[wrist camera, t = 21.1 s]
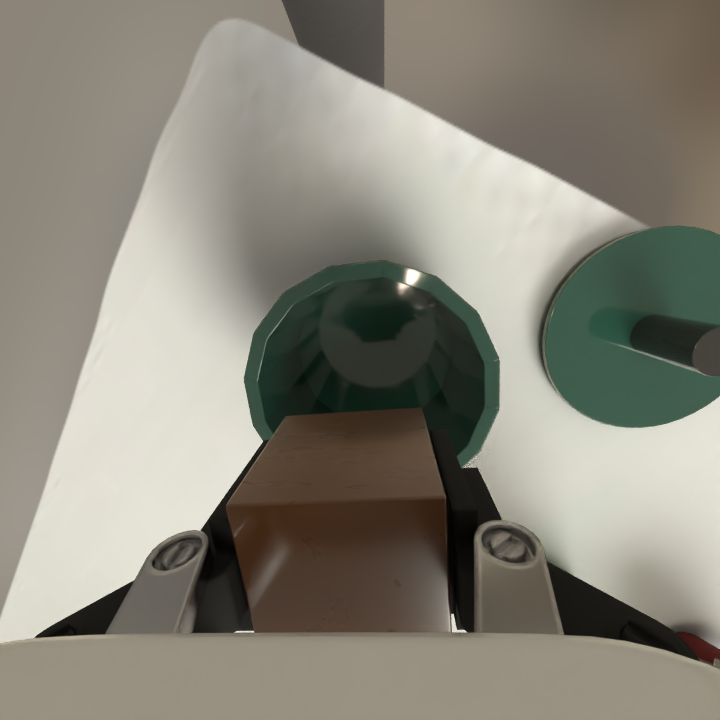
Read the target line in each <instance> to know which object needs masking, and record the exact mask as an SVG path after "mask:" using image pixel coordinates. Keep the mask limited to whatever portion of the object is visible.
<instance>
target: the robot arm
mask: <svg viewBox="0 0 720 720" xmlns="http://www.w3.org/2000/svg"><path fill="white" fill-rule="evenodd" d="M429 436H430V440H431V443H432V447H433V451H434V454H435V458H436V462H437V465H438V469H439V473H440V477H441V480H442V484H443V488H444V491H445V495H446V504H447V529H448V553H449V578H450V602H451V614H454V617H455V622H456V627H457V630H466V631H467V632H468V633H448V632H290V633H234V632H235V631H254V628H253V624H252V620H251V615H250V611H249V607H248V602H247V598H246V594H245V589H244V585H243V581H242V576H241V572H240V567H239V563H238V559H237V554H236V550H235V546H234V541H233V537H232V533H231V528H230V524H229V520H228V515H227V511H226V504H227V503H228V501H229V500H230V498H231V497H232V495H233V494H234V492H235V491H236V489H237V488H238V486H239V485H240V483H241V482H242V481H243V479H244V478H245V476H246V475H247V473H248V472H249V470H250V469H251V467H252V466H253V464H254V463H255V461H256V460H257V458H258V457H259V455H260V454H261V452H262V451H263V449H264V448H265V446H266V445H267V443H268V442H269V440H264V441H263V443H262V444H261V446H260V447H259V448H258V450H257V451H256V453H255V454H254V456H253V457H252V458H251V460H250V461H249V463H248V464H247V466H246V467H245V468H244V470H243V471H242V473H241V474H240V475H239V477H238V478H237V480H236V481H235V482H234V484H233V485H232V487H231V488H230V489H229V491H228V492H227V494H226V495H225V497H224V498H223V499H222V501H221V502H220V504H219V505H218V506H217V508H216V509H215V511H214V512H213V514H212V515H211V516H210V518H209V519H208V521H207V522H206V523H205V525H204V526H203V528H202V529H201V531H197V530H192V531H185V532H182V533H178V534H176V535H174V536H172V537H169V538H168V539H166V540H165V541H163V542H162V543H160V544H159V545H158V546H157V547H156V548H154V549H153V550H152V551H151V553H150V554H149V556H148V557H147V558H146V560H145V562H144V564H143V566H142V568H141V569H140V571H139V573H138V575H137V577H136V579H135V580H134V581H132V582H130V583H128V584H127V585H125V586H123V587H121V588H119V589H118V590H116V591H114V592H112V593H110V594H108V595H107V596H105V597H103V598H101V599H99V600H97V601H96V602H94V603H92V604H90V605H88V606H87V607H85V608H83V609H81V610H79V611H77V612H76V613H74V614H72V615H70V616H68V617H66V618H65V619H63V620H61V621H59V622H57V623H55V624H54V625H52V626H50V627H49V628H47V629H46V630H44V631H43V632H41V633H39V634H38V635H37V636H36V637H35V638H32V639H25V640H18V641H11V642H5V643H1V644H0V720H720V660H719V659H717V658H715V659H714V664H711V663H708V662H706V661H704V660H702V659H700V658H698V656H697V655H696V654H695V653H694V651H693V650H692V649H691V648H690V647H689V645H688V644H687V643H686V642H685V641H684V640H683V639H682V638H680V637H679V636H678V635H677V634H676V633H675V632H674V631H672V630H671V629H669V628H668V627H666V626H665V625H663V624H661V623H660V622H658V621H657V620H655V619H653V618H651V617H649V616H647V615H645V614H644V613H642V612H640V611H638V610H636V609H634V608H632V607H630V606H629V605H627V604H625V603H623V602H621V601H619V600H617V599H616V598H614V597H612V596H610V595H608V594H606V593H604V592H602V591H601V590H599V589H597V588H595V587H593V586H591V585H589V584H588V583H586V582H584V581H582V580H580V579H578V578H576V577H574V576H573V575H571V574H569V573H567V572H565V571H563V570H561V569H560V568H558V567H556V566H554V565H552V564H550V563H548V562H546V558H545V554H544V550H543V547H542V545H541V542H540V540H539V539H538V538H537V537H536V536H535V534H534V533H533V532H531V531H530V530H528V529H527V528H525V527H524V526H521V525H519V524H517V523H514V522H510V521H505V520H502V519H501V517H500V515H499V512H498V510H497V508H496V506H495V504H494V502H493V500H492V497H491V495H490V493H489V491H488V489H487V487H486V485H485V482H484V480H483V478H482V476H481V474H480V472H479V470H478V468H461V466H460V464H459V461H458V458H457V456H456V453H455V451H454V448H453V445H452V443H451V440H450V438H449V435H448V432H447V430H446V429H443V430H429Z"/></svg>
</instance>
